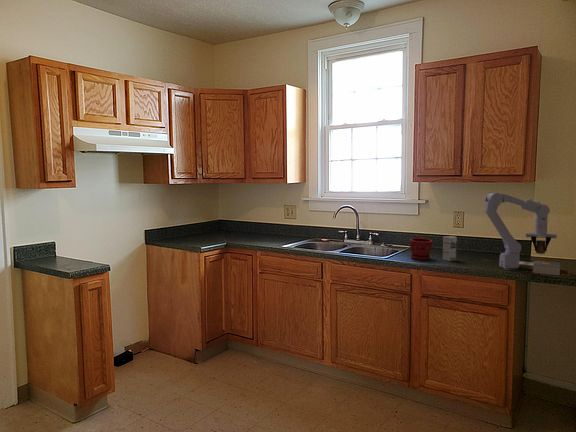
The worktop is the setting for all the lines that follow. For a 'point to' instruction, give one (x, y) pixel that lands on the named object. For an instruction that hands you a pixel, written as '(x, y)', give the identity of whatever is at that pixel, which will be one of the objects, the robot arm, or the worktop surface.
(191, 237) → the worktop surface
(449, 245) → the syrup box
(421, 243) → the plant pot
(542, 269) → the switch box
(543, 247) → the brown rectangular block
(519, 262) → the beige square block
